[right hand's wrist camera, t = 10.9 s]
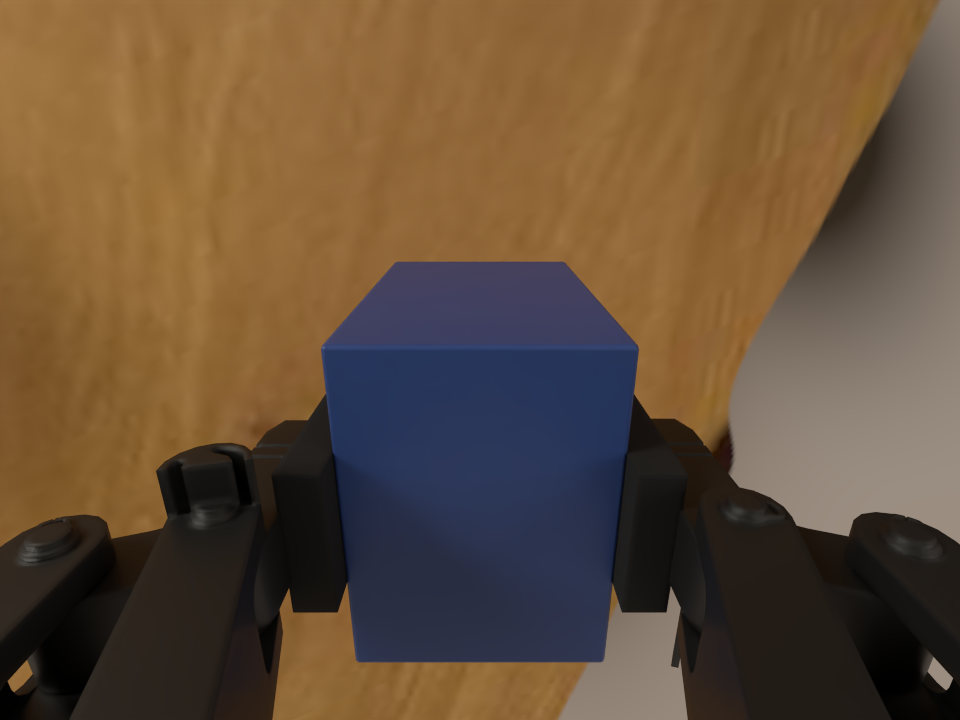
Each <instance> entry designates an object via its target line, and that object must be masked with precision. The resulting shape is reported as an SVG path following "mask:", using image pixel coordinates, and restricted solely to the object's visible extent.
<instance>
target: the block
mask: <svg viewBox="0 0 960 720" xmlns="http://www.w3.org/2000/svg"><path fill="white" fill-rule="evenodd" d="M321 352H322V361H323V370H324V379H325V388H326V397H327V405H328V414H329V423H330V432H331V441H332V450H333V458H334V467H335V476H336V485H337V494H338V502H339V511H340V520H341V529H342V538H343V547H344V556H345V565H346V574H347V584H348V593H349V602H350V611H351V619H352V628H353V637H354V646H355V655H356V660H357V661H358V662H602V661H603V660H604V656H605V647H606V638H607V629H608V620H609V611H610V602H611V593H612V584H613V574H614V565H615V556H616V547H617V538H618V529H619V520H620V511H621V502H622V493H623V484H624V475H625V466H626V457H627V451H628V442H629V433H630V424H631V415H632V406H633V397H634V388H635V379H636V370H637V361H638V352H639V348H638V345H637V344H636V343H635V342H634V341H633V340H632V338H631V337H630V336H629V335H628V334H627V333H626V332H625V331H624V329H623V328H622V327H621V326H620V325H619V324H618V323H617V321H616V320H615V319H614V318H613V317H612V316H611V315H610V313H609V312H608V311H607V310H606V309H605V308H604V307H603V305H602V304H601V303H600V302H599V301H598V300H597V299H596V298H595V296H594V295H593V294H592V293H591V292H590V291H589V290H588V288H587V287H586V286H585V285H584V284H583V283H582V282H581V280H580V279H579V278H578V277H577V276H576V275H575V274H574V272H573V271H572V270H571V269H570V268H569V267H568V266H567V265H566V263H564V262H396V263H394V265H393V266H392V267H391V268H390V269H389V270H388V271H387V273H386V274H385V275H384V276H383V277H382V278H381V279H380V281H379V282H378V283H377V284H376V285H375V286H374V287H373V288H372V290H371V291H370V292H369V293H368V294H367V295H366V296H365V298H364V299H363V300H362V301H361V302H360V303H359V304H358V306H357V307H356V308H355V309H354V310H353V311H352V312H351V314H350V315H349V316H348V317H347V318H346V319H345V320H344V321H343V323H342V324H341V325H340V326H339V327H338V328H337V329H336V331H335V332H334V333H333V334H332V335H331V336H330V337H329V339H328V340H327V341H326V342H325V343H324V344H323V345H322V348H321Z"/></svg>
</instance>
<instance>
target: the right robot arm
mask: <svg viewBox="0 0 960 720" xmlns="http://www.w3.org/2000/svg"><path fill="white" fill-rule="evenodd" d="M156 473H157V477H158V481H159V485H160V489H161V493H162V497H163V501H164V505H165V509H166V513H167V517H168V519H167V521H166V523H165V525H164V527H163V528H162V529H158V530H154V531H149V532H144V533H139V534H134V535H129V536H124V537H119V538H114V539H111V535H110V532H109V529H108V525H107V522H105V521H104V520H103V519H101V518H100V517H98V516H91V515H76V516H65V517H60V518H56V519H55V520H53V519H52V520H49V521H46V522H43V523H41V524H39V525H38V526H36V527H33V528H31V529H29V530H27V531H24V532H22V533H21V534H19V535H18V536H16V537H15V538H13V539H12V540H10V541H9V542H7V543H5V544H4V545H3V546H2V547H0V720H272V718H273V709H274V701H275V693H276V685H277V677H278V668H279V660H280V652H281V644H282V636H283V629H282V622H281V616H280V610H279V609H280V607H281V604H282V602H283V600H284V598H285V596H286V593H287V591H288V589H290V595H291V602H292V608H293V612H338V610H339V606H340V603H341V600H342V597H343V594H344V591H345V588H346V584H347V574H346V565H345V556H344V547H343V538H342V529H341V520H340V511H339V502H338V494H337V485H336V476H335V467H334V458H333V450H332V441H331V432H330V423H329V414H328V405H327V397H326V394H325V396H324V397H323V399H322V400H321V402H320V403H319V405H318V406H317V408H316V409H315V411H314V412H313V414H312V415H311V417H310V418H309V420H285V421H284V422H282V423H281V424H279V425H277V426H276V427H274V428H272V429H271V430H269V431H267V432H266V434H265V435H264V436H263V437H262V439H261V440H260V441H259V442H258V444H257V447H254V449H253V450H252V451H251V450H249V449H248V448H247V447H245V446H243V445H238V444H234V443H215V444H210V445H205V446H199V447H195V448H193V449H190V450H187V451H184V452H181V453H179V454H177V455H176V456H174V457H172V458H170V459H169V460H167V461H165V462H164V463H163V464H162V465H161V466H160V467H159V468H158V469H157V470H156ZM613 585H614V589H615V592H616V595H617V598H618V601H619V604H620V607H621V611H622V612H666V611H667V605H668V599H669V593H670V587H672V589H673V591H674V594H675V596H676V598H677V600H678V602H679V605H680V607H681V611H680V616H679V622H678V628H677V634H676V639H675V645H674V651H673V657H672V664H671V666H672V667H677V668H678V666H679V661H680V659H681V667H682V675H683V683H684V691H685V700H686V708H687V716H688V720H960V544H958V543H957V542H956V541H954V540H953V539H951V538H950V537H948V536H947V535H945V534H944V533H942V532H940V531H939V530H937V529H935V528H933V527H930V526H928V525H926V524H924V523H922V522H921V521H919V520H916V519H913V518H910V517H907V518H906V517H905V516H902V515H898V514H888V513H879V512H873V513H866V514H861V515H860V516H858V517H857V518H856V519H854V520H853V524H852V527H851V530H850V534H849V537H848V536H843V535H838V534H833V533H828V532H822V531H817V530H812V529H807V528H804V527H799V526H796V524H795V522H794V520H793V518H792V516H791V515H790V514H789V513H788V511H787V510H786V509H785V508H784V507H783V506H782V505H780V504H779V503H777V502H776V501H774V500H773V499H771V498H770V497H767V496H765V495H763V494H760V493H758V492H755V491H753V490H748V489H744V488H739V487H738V485H737V484H736V483H735V482H734V480H733V479H732V478H731V477H730V475H729V474H728V473H727V472H726V470H725V469H724V468H723V467H722V466H721V464H720V463H719V462H718V461H717V459H716V458H715V457H712V453H711V452H710V451H709V449H708V448H707V447H706V446H704V445H703V442H702V441H701V439H700V438H699V437H698V436H697V434H696V433H695V432H694V431H693V430H692V429H690V428H689V427H687V426H685V425H684V424H682V423H681V422H679V421H677V420H676V419H650V417H649V416H648V414H647V413H646V411H645V410H644V408H643V407H642V405H641V404H640V402H639V401H638V399H637V398H636V396H635V395H634V397H633V406H632V415H631V424H630V433H629V442H628V451H627V457H626V466H625V475H624V484H623V493H622V502H621V511H620V520H619V529H618V538H617V547H616V556H615V565H614V574H613ZM933 657H934V658H935V659H936V660H937V661H938V662H939V663H940V664H941V665H942V666H943V668H944V669H945V670H946V671H947V672H948V673H949V674H950V675H951V676H952V677H953V680H952V683H951V685H950V687H949V688H948V689H947V690H945V689H944V688H942V687H941V686H940V685H939V684H938V683H937V682H936V681H935V680H934V679H933V677H932V676H931V675H930V674H929V673H928V672H927V671H928V669H929V666H930V664H931V662H932V659H933ZM26 660H28V663H29V665H30V668H31V670H32V673H33V674H32V676H31V677H30V678H29V679H28V680H27V681H26V682H25V684H24V685H23V686H21V687H20V688H19V689H18V690H17V691H15V692H13V691H12V690H11V688H10V686H9V684H8V680H9V679H10V678H11V677H12V675H13V674H14V673H15V672H16V671H17V670H18V669H19V668H20V667H21V666H22V665H23V663H24V662H25V661H26Z"/></svg>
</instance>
